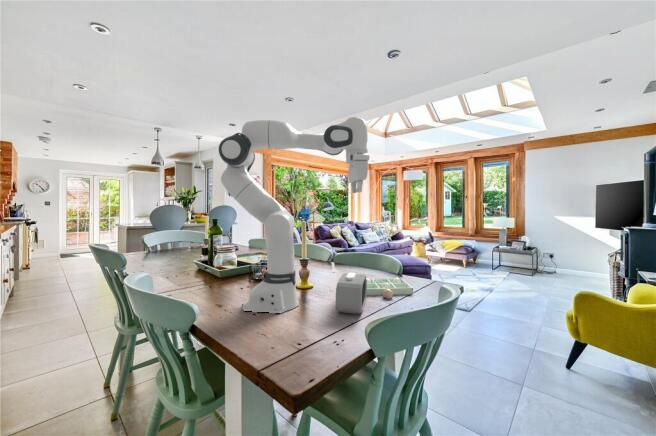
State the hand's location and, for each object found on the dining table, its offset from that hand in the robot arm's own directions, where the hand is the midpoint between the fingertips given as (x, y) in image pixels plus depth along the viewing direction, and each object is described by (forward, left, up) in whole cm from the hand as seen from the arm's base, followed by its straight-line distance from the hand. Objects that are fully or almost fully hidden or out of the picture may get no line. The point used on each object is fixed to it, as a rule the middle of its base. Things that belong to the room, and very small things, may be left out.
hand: (356, 192), depth 113 cm
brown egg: (+15, +4, -46) cm, 49 cm away
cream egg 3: (+23, +19, -46) cm, 55 cm away
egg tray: (+16, +15, -46) cm, 51 cm away
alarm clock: (-2, -5, -47) cm, 47 cm away
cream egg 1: (+8, +19, -46) cm, 50 cm away
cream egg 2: (+16, +12, -46) cm, 50 cm away
